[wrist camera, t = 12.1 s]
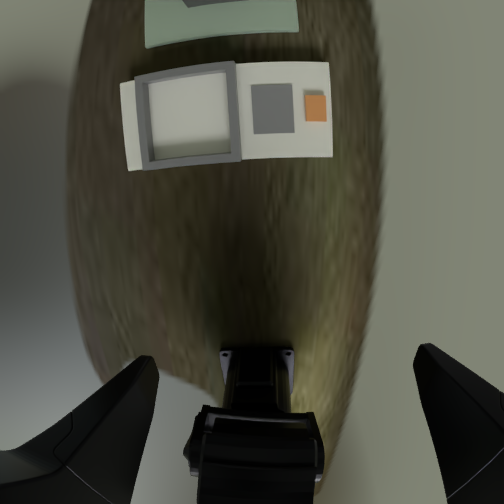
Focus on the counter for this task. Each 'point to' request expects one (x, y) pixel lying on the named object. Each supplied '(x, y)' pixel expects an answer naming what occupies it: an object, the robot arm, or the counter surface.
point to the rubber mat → (215, 19)
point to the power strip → (227, 114)
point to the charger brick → (205, 2)
